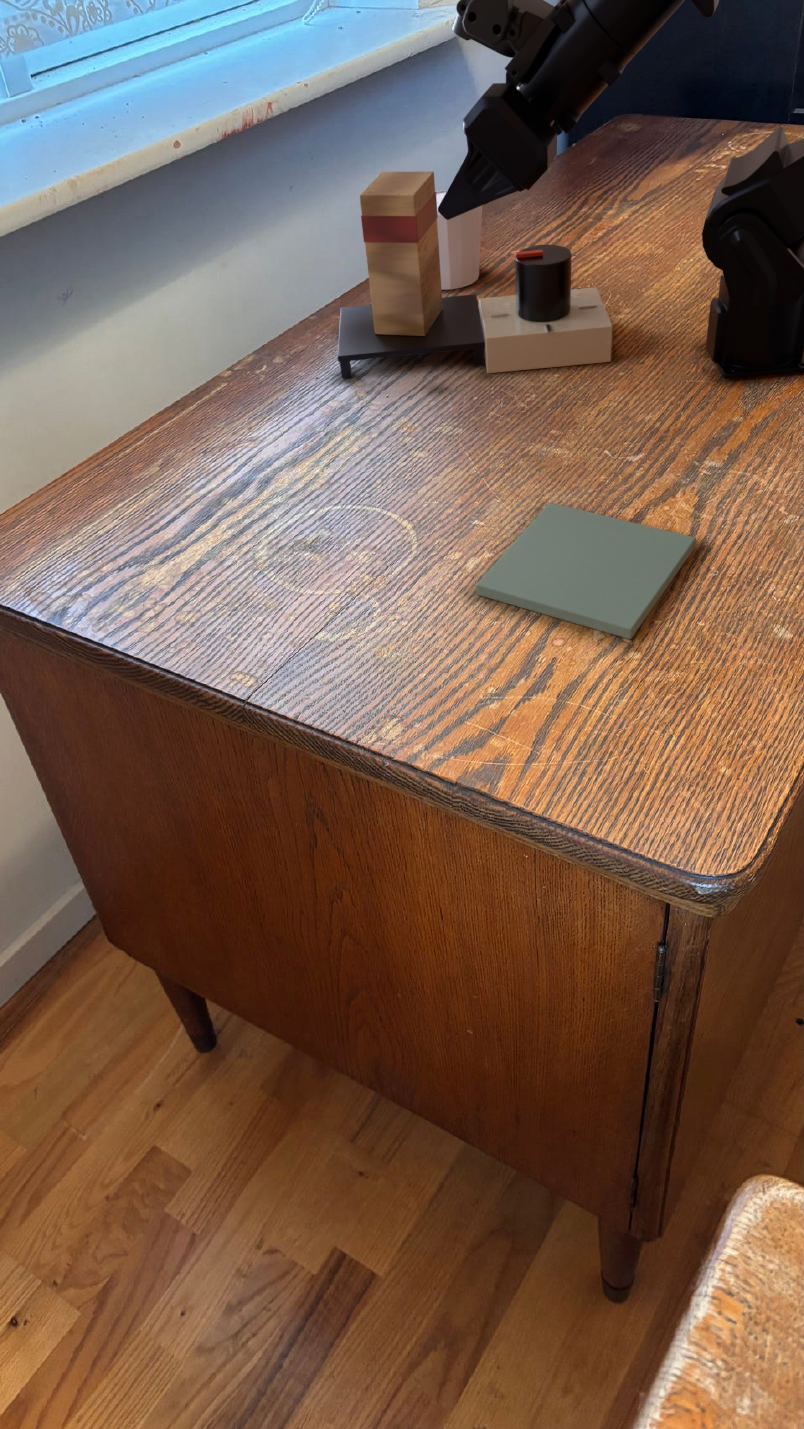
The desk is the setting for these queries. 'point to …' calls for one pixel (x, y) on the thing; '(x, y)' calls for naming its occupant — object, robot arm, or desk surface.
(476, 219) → the white cup
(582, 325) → the panel
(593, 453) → the desk surface
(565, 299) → the oven knob
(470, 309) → the black low stand
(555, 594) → the mat
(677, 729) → the desk surface
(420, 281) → the block
